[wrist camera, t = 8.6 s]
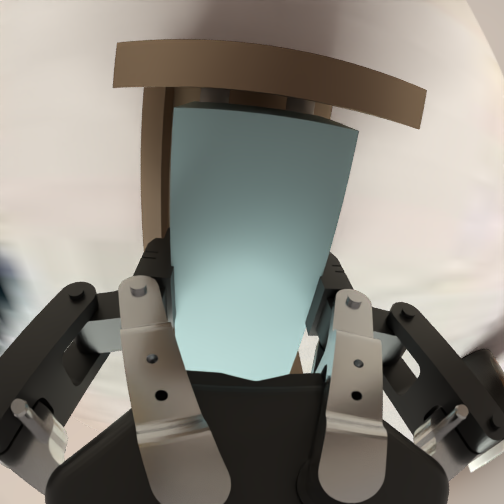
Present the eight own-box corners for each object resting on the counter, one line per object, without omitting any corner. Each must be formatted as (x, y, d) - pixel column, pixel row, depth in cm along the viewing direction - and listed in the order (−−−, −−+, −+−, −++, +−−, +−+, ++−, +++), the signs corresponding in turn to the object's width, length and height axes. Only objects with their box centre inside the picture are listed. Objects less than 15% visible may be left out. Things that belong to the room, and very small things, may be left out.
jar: (482, 337, 28) (533, 426, 15) (494, 359, 32) (533, 429, 19) (415, 392, 32) (449, 483, 19) (439, 403, 36) (468, 474, 23)
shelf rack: (160, 301, 21) (135, 409, 13) (162, 66, 13) (82, 47, 5) (283, 309, 22) (304, 417, 14) (330, 84, 14) (426, 90, 6)
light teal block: (187, 329, 16) (180, 387, 13) (193, 101, 10) (173, 107, 7) (274, 333, 17) (282, 390, 13) (320, 116, 11) (358, 130, 7)
